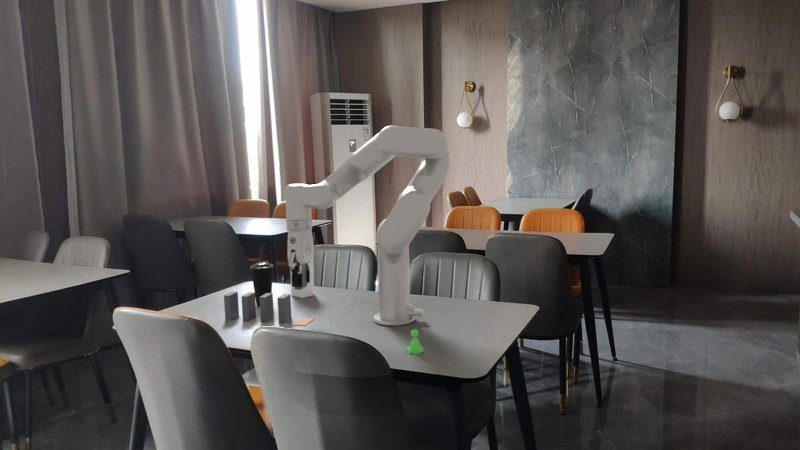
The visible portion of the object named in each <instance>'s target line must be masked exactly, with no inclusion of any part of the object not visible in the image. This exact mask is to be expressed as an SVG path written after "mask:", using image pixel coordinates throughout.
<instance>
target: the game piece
mask: <svg viewBox="0 0 800 450" xmlns="http://www.w3.org/2000/svg"><path fill="white" fill-rule="evenodd" d="M410 335H411V338H412V339H411V342H410V343H409V346H408V347H406V352H407V351H408V352H409V353H414V354H413V355H418V354H417V353H420V354H422V353H423V352H424V347H422V345H421V343H420V340H419V338H418V336H420V333H419V330H418V329H417V328H416V329H415V328H414V329H412V330H410ZM408 352H407V353H408ZM421 352H422V353H421ZM409 353H408V354H409Z"/></svg>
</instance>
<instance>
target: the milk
mask: <svg viewBox="0 0 800 450" xmlns="http://www.w3.org/2000/svg"><path fill="white" fill-rule="evenodd" d="M314 267H315V266H314V259H313V260H311V261H310V269H308V270H310V282H309V283H307V286H306V287H305V288H303V289H301V290H296V289H295V287H293V286H292V274H291V269H290V268H289V269H290V270H289V271H290V290H291V291H290V296H292V297H296V298H299V299H304V298H307V297H311V296H312V297H313V296H315V293H316V292H315V275H314V274H315V271H314Z"/></svg>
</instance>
